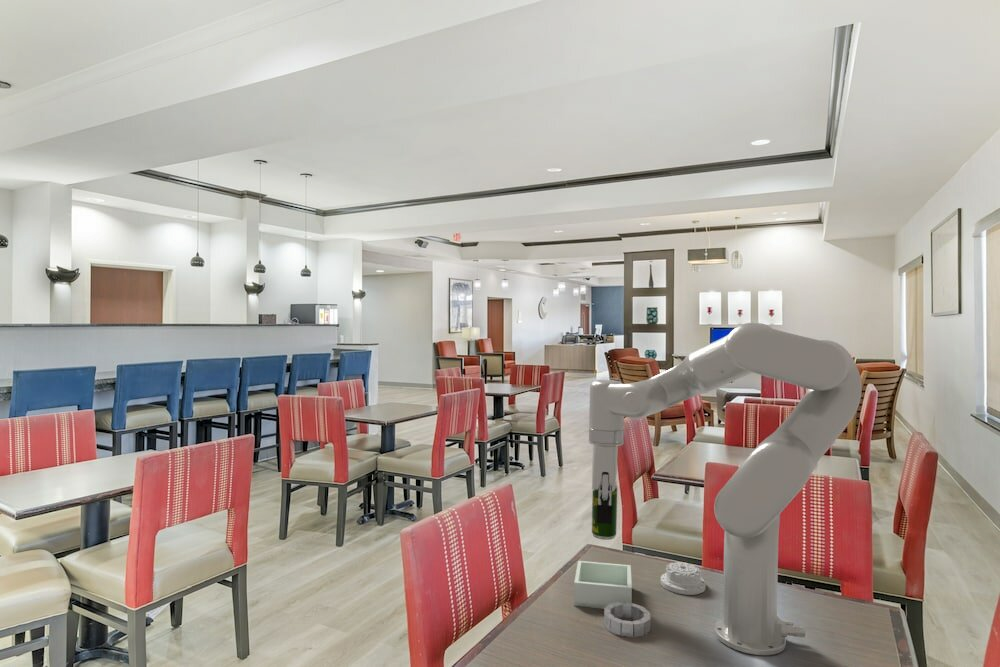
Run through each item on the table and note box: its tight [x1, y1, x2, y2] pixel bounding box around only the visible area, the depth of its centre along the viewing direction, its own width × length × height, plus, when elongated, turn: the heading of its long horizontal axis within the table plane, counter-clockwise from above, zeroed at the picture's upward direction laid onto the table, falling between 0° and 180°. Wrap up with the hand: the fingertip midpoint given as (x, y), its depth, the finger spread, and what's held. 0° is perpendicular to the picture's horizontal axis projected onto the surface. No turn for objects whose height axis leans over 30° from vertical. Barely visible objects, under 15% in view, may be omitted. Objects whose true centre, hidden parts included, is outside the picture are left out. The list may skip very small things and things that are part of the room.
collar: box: [603, 602, 652, 638], centre depth 117 cm, size 9×9×2 cm
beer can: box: [591, 479, 618, 541], centre depth 129 cm, size 5×5×12 cm
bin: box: [573, 560, 633, 610], centre depth 130 cm, size 12×12×5 cm
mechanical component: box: [660, 561, 707, 596], centre depth 135 cm, size 10×4×10 cm
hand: (604, 517), depth 129 cm, fingers closed on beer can, 5 cm apart
